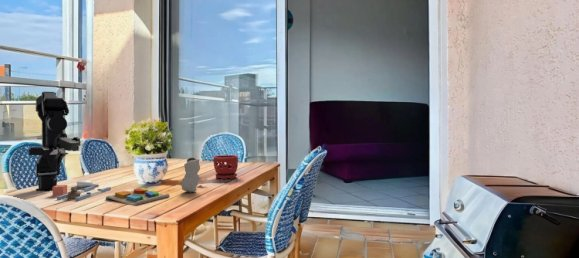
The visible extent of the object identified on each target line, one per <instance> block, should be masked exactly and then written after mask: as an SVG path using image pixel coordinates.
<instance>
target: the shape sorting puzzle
mask: <svg viewBox="0 0 579 258" xmlns="http://www.w3.org/2000/svg"><path fill="white" fill-rule="evenodd" d="M170 196H171V195H170V194H169V193H165V194H163V193H160V192H159V191H157V190H156V191H155V190H148V188H146V187H136V188H134V189H133V190H131V191H129V190H121V191H115V192H114V194H112V195H107V196H106V197H105V199H106V200H112V201H116V202H118V203H121V204H126V205H130V206H138V205H142V204H147V203H150V202H155V201H158V200H162V199H165V198H170Z"/></svg>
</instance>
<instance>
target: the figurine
mask: <svg viewBox="0 0 579 258" xmlns="http://www.w3.org/2000/svg"><path fill="white" fill-rule="evenodd" d="M183 165H184V167H183V168H184V171H185V174H184V177H183V178H182V180H181V183H180V184H181V186H180V187H181V189H182V191H184V192H188V193H196V192H197V187H198V185H199V181H200V179H201V178H200V175H199V174H198V173H199V172H200V170H201V165H200V159H197V158H195V157H190V158H188V159H187V160H186V162H185V163H184V164H183Z"/></svg>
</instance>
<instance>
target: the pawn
mask: <svg viewBox="0 0 579 258" xmlns="http://www.w3.org/2000/svg"><path fill="white" fill-rule="evenodd" d="M67 194H68V198H67V200H69V199H74V200H75V198H76V197H79V196H81V193H80V191H78V190H76V189H70V191H67Z"/></svg>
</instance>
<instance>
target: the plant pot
mask: <svg viewBox="0 0 579 258" xmlns="http://www.w3.org/2000/svg"><path fill="white" fill-rule="evenodd" d="M213 167H214V170H215V171H214V172H215V174H214V175H215V177H216V178H217V179H218V178H221V180H228V179H227V178H233V179H235V178H236V177H237V176H238V173H236V172H237V171H238V167H239V156H238V155H235V154H234V155H233V154H224V155H221V154H220V155H215V156H213ZM234 177H235V178H234Z"/></svg>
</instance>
